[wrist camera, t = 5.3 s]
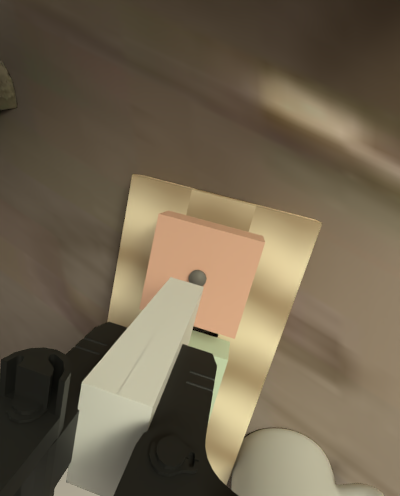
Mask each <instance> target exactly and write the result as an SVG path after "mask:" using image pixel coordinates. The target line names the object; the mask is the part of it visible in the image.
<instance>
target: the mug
mask: <svg viewBox="0 0 400 496" xmlns="http://www.w3.org/2000/svg"><path fill="white" fill-rule="evenodd" d="M231 490H232V491H233V492H234V493H236V494H237V495H238V496H385V495H384V494H383V493H382V492H381V491H379V490H378V489H376V488H375V487H372V486H370V485H367V484H361V483H352V484H343V485H336V482H335V478H334V475H333V471H332V468H331V466H330V463H329V460H328V459H327V457H326V455H325V453H324V452H323V451H322V449H321V448H320V447H319V446H318V445H317V444H316V443H315V442H313V441H312V440H311V439H309V438H308V437H306V436H305V435H303V434H301V433H298V432H295V431H292V430H288V429H283V428H267V429H261V430H258V431H255V432H253V433H251V434H249V435H248V436H246V437H245V438H244V439H243V441H242V444H241V447H240V450H239V452H238V455H237V458H236V461H235V463H234V466H233V469H232V484H231Z"/></svg>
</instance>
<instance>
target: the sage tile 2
mask: <svg viewBox="0 0 400 496" xmlns="http://www.w3.org/2000/svg"><path fill="white" fill-rule="evenodd" d="M188 346H190V347H193V348H197V349H200V350H203V351H206V352H209V353H212V354H213V356H214V359H215V362H216V364H217V371H216V377H215V383H214V389H213V396H212V402H211V408H210V415H209V419H210V416H211V413H212V410H213V407H214V403H215V400H216V397H217V394H218V391H219V388H220V384H221V381H222V378H223V375H224V372H225V369H226V365H227V362H228V357H229V347H230V342H229V341H226V340H223V339H220V338H216V337H213V336H210V335H207V334H204V333H201V332H197V331H194V330H192V333H191V337H190V341H189V344H188ZM208 422H209V421H208Z"/></svg>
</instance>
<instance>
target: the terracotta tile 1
mask: <svg viewBox="0 0 400 496" xmlns="http://www.w3.org/2000/svg"><path fill="white" fill-rule="evenodd" d="M264 245H265V240H264V237H263V236H262V235H258V234H254V233H250V232H247V231H243V230H239V229H236V228H232V227H228V226H224V225H221V224H217V223H213V222H210V221H206V220H202V219H198V218H195V217H191V216H187V215H184V214H180V213H176V212H172V211H165V212H162V213H159V214H158V219H157V224H156V229H155V234H154V239H153V244H152V249H151V254H150V259H149V264H148V269H147V274H146V279H145V283H144V288H143V293H142V298H141V303H140V308H139V309H141V310H143V309H144V308H145V307H146V306H147V304H148V303H149V302H150V301H151V300H152V299H153V297H154V296H155V295H156V294H157V293H158V291H159V290H160V289H161V288H162V287H163V285H164V284H165V283H166V282H167V281H168V280H169V278H170V277H172V278H175V279H179V280H182V281H186V282H189V283H192V284H196V285H199V286H203V287H204V288H203V292H202V296H201V299H200V303H199V307H198V311H197V314H196V318H195V322H194V326H195V327H198V328H201V329H205V330H208V331H211V332H214V333H217V334H221V335H224V336H227V337H230V338H233V339H235V337H236V334H237V330H238V327H239V324H240V321H241V318H242V315H243V311H244V308H245V305H246V302H247V299H248V296H249V292H250V289H251V286H252V283H253V280H254V277H255V273H256V270H257V267H258V264H259V261H260V258H261V254H262V251H263V248H264Z"/></svg>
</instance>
